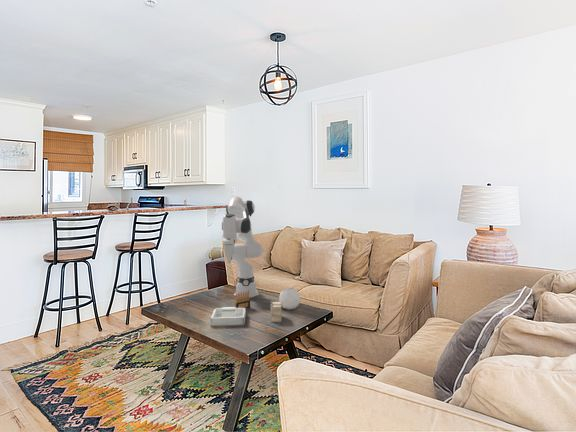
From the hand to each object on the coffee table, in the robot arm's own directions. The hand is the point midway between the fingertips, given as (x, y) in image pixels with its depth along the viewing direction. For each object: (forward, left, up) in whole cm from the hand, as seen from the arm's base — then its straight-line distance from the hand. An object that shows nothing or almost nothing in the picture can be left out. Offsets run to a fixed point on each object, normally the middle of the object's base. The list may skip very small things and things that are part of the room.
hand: (230, 261), depth 222 cm
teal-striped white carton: (+14, 0, -32) cm, 35 cm away
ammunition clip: (-6, +7, -33) cm, 35 cm away
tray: (+14, 0, -33) cm, 36 cm away
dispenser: (+14, +28, -33) cm, 46 cm away
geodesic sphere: (-4, +38, -33) cm, 51 cm away
